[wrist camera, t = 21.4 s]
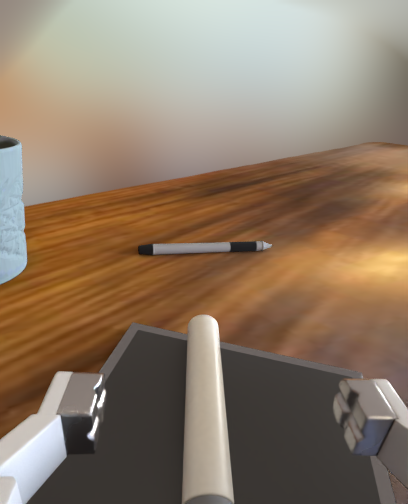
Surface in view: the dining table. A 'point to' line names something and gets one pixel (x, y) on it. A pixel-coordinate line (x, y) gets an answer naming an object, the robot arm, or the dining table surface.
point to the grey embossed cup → (11, 210)
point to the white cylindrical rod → (205, 419)
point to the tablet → (238, 424)
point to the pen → (201, 247)
